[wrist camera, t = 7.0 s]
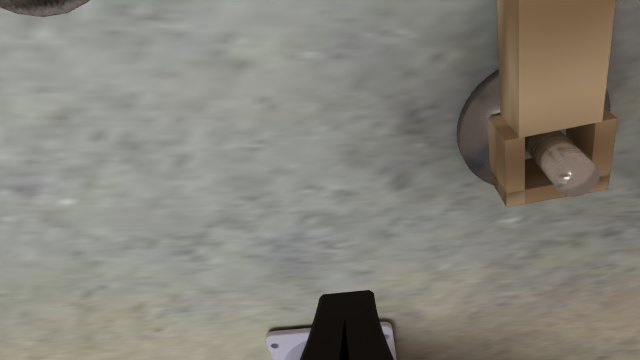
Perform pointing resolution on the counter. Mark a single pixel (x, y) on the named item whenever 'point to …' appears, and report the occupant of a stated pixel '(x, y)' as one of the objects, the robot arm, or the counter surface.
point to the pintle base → (546, 149)
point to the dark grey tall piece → (41, 6)
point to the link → (550, 90)
